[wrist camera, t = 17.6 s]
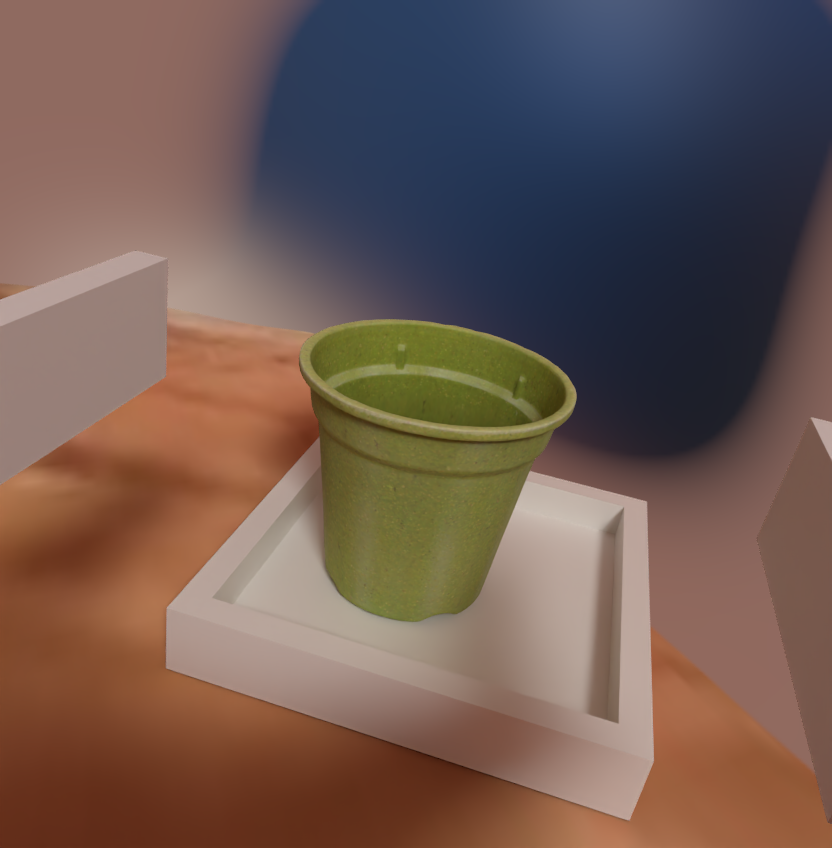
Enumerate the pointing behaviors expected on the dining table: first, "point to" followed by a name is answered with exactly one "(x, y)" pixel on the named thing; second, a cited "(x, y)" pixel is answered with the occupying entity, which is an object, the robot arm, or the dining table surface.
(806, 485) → the robot arm
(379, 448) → the plant pot
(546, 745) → the pot tray
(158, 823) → the dining table surface
